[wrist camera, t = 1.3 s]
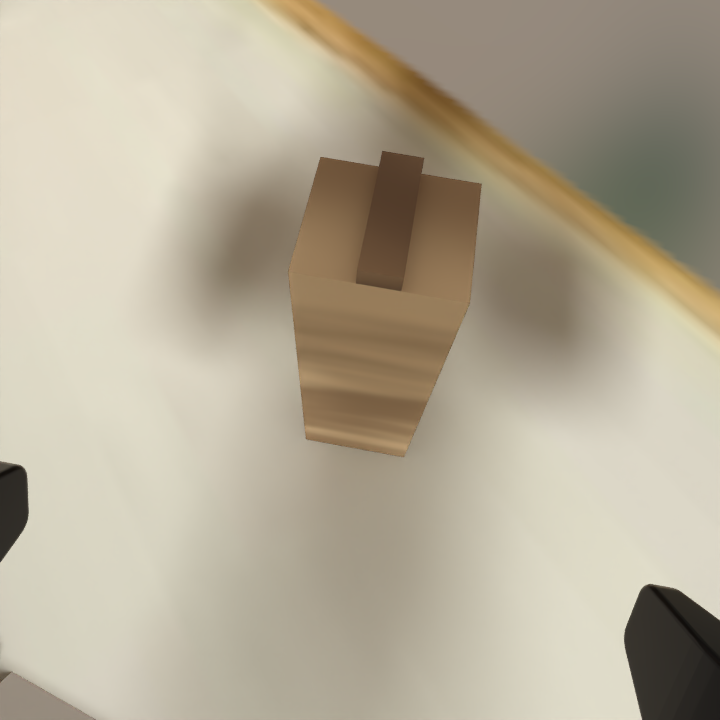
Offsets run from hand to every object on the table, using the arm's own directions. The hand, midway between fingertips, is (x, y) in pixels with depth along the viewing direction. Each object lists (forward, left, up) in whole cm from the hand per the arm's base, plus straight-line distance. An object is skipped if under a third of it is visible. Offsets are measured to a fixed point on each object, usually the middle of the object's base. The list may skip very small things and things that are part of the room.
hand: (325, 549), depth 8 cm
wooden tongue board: (+7, -3, -13) cm, 15 cm away
